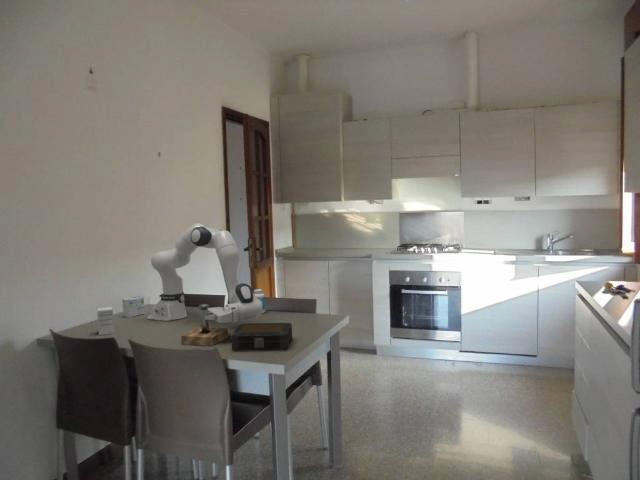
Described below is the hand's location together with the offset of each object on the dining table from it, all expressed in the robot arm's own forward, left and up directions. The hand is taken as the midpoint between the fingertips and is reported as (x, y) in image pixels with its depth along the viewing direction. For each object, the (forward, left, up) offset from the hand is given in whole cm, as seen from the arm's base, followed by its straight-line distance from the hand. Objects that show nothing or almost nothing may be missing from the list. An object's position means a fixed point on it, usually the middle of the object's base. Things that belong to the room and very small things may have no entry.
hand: (202, 317), depth 231 cm
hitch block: (0, +1, -11) cm, 11 cm away
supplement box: (-59, +5, -12) cm, 60 cm away
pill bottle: (+3, +59, -12) cm, 60 cm away
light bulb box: (-69, +41, -12) cm, 80 cm away
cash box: (+30, -1, -12) cm, 33 cm away
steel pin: (+1, +1, -8) cm, 8 cm away
